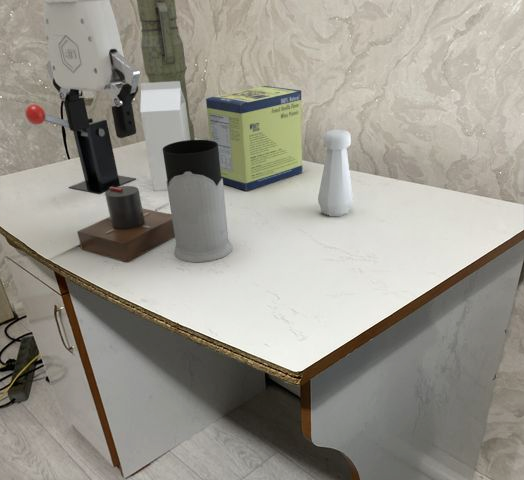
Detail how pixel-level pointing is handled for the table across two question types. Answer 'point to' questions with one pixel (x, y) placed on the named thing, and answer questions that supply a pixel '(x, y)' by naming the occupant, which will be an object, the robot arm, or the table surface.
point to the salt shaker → (336, 175)
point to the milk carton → (162, 124)
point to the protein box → (257, 135)
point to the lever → (46, 118)
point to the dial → (124, 207)
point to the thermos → (163, 46)
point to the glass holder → (197, 200)
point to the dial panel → (127, 236)
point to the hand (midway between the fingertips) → (102, 132)
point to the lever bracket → (97, 159)
